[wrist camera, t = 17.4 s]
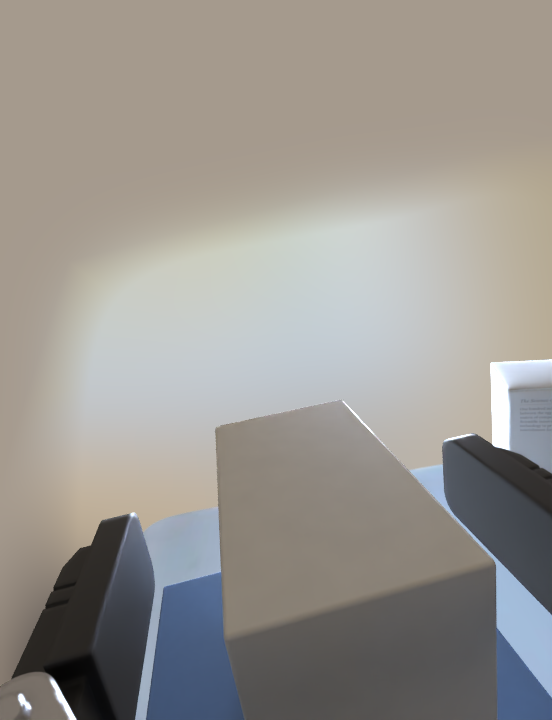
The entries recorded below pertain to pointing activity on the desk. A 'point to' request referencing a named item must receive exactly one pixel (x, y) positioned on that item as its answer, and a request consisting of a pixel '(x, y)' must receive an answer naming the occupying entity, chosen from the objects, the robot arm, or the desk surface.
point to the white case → (347, 578)
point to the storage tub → (215, 677)
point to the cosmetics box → (523, 409)
